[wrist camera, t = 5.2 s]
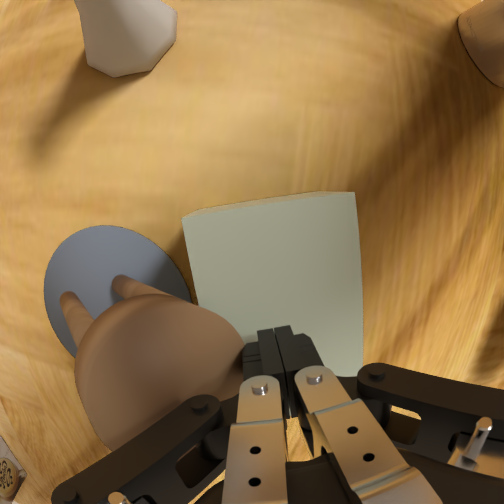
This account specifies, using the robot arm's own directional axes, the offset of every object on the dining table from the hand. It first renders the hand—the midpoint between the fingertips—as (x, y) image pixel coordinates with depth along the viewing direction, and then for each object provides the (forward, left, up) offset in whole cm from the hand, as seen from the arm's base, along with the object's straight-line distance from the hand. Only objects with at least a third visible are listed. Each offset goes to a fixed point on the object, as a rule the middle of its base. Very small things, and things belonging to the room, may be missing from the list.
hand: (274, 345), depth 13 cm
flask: (+6, -20, -8) cm, 23 cm away
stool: (+7, 0, -8) cm, 10 cm away
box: (-1, 0, -8) cm, 8 cm away
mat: (+11, 0, -8) cm, 14 cm away
